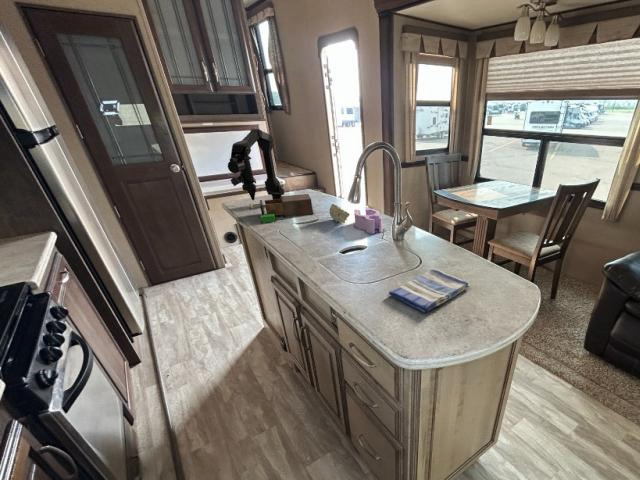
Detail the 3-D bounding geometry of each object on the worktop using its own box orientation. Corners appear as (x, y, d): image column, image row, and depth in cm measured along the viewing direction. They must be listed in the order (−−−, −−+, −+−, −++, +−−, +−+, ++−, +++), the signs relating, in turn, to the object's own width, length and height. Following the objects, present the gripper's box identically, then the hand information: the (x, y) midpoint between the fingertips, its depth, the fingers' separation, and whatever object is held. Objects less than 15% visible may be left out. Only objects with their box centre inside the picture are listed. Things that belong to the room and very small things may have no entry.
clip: (388, 230, 161) (388, 217, 158) (366, 235, 156) (365, 221, 153) (372, 219, 176) (371, 207, 172) (351, 223, 171) (349, 210, 167)
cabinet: (285, 217, 180) (282, 201, 176) (283, 210, 190) (280, 196, 186) (313, 214, 185) (311, 199, 180) (310, 208, 195) (308, 193, 190)
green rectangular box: (275, 221, 174) (274, 215, 172) (262, 223, 172) (261, 217, 170) (275, 219, 177) (273, 213, 175) (262, 220, 175) (261, 214, 173)
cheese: (332, 220, 181) (319, 209, 167) (339, 209, 181) (327, 197, 167) (352, 233, 177) (341, 223, 163) (360, 222, 177) (349, 211, 162)
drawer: (251, 218, 175) (248, 206, 172) (251, 212, 184) (248, 200, 181) (289, 214, 181) (287, 202, 178) (288, 209, 190) (286, 197, 187)
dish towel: (470, 288, 112) (471, 281, 111) (426, 315, 98) (427, 308, 96) (432, 272, 122) (432, 265, 121) (387, 295, 108) (387, 288, 107)
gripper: (230, 167, 173) (238, 197, 181) (227, 174, 158) (236, 205, 166) (252, 166, 176) (259, 195, 184) (251, 172, 161) (259, 203, 169)
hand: (253, 200), depth 176 cm, fingers closed
